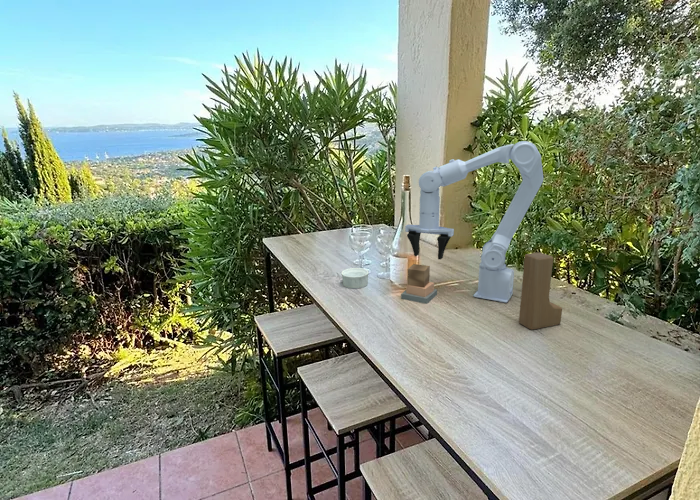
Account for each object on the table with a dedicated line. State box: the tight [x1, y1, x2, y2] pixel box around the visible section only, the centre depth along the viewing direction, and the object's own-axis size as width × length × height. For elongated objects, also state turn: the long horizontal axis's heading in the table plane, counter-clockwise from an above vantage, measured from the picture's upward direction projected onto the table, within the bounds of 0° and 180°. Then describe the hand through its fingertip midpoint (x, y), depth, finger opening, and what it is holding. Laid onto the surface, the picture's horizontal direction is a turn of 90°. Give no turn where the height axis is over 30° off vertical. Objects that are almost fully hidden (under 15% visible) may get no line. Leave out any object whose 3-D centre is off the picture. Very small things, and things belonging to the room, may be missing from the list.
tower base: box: [400, 288, 438, 305], centre depth 117 cm, size 8×8×2 cm
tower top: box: [405, 281, 435, 297], centre depth 116 cm, size 6×6×2 cm
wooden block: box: [518, 252, 563, 331], centre depth 96 cm, size 9×4×18 cm, turn 108°
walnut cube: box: [407, 263, 431, 288], centre depth 116 cm, size 5×5×5 cm
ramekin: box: [341, 267, 370, 290], centre depth 128 cm, size 9×9×4 cm
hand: (428, 256), depth 120 cm, fingers open, 7 cm apart
